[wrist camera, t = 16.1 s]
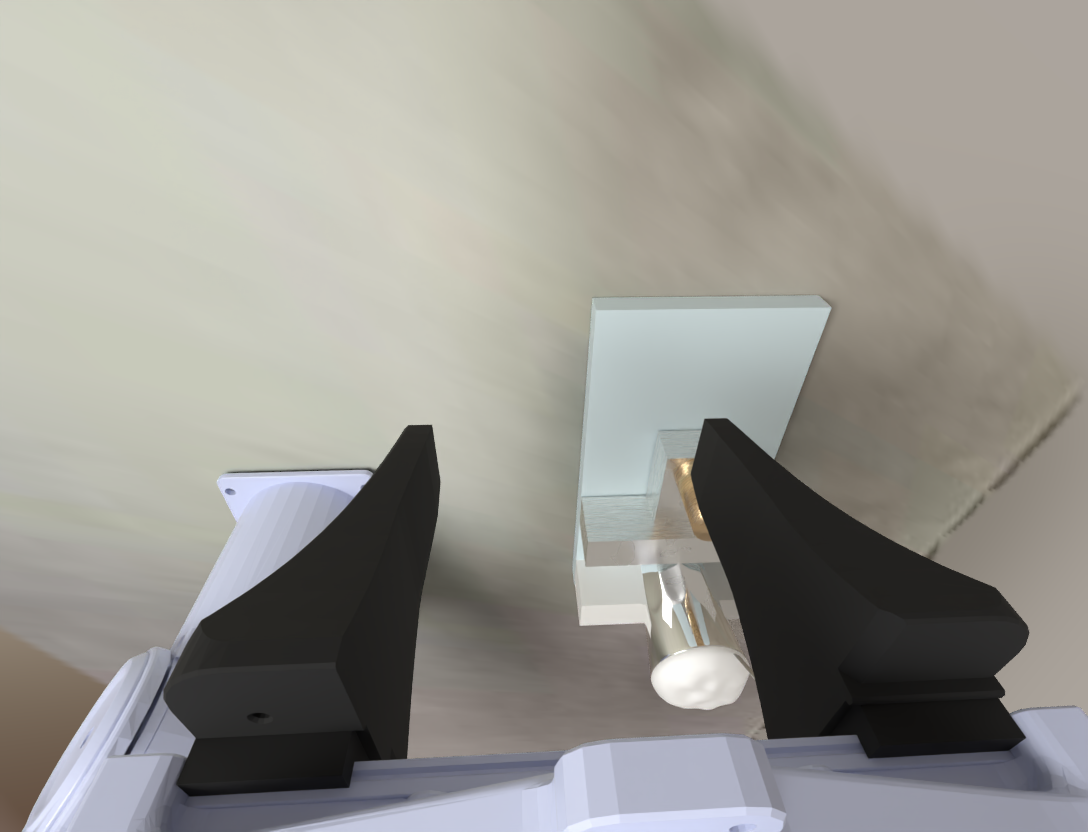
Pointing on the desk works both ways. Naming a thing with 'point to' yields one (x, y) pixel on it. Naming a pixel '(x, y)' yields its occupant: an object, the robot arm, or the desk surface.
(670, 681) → the milkshake
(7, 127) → the desk surface
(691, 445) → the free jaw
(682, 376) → the pale blue stepped plate
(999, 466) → the desk surface
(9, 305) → the desk surface
